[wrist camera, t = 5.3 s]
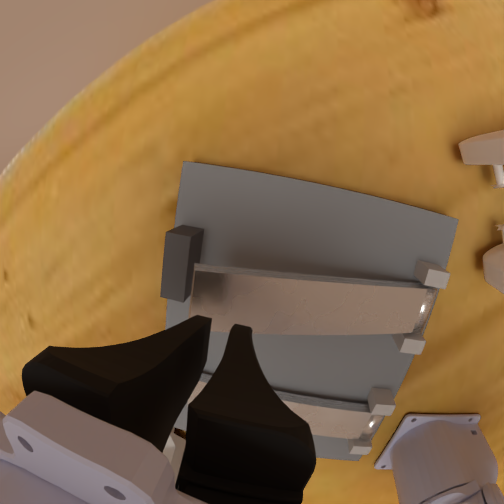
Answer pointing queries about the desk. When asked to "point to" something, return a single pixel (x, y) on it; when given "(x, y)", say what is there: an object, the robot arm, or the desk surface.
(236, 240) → the base plate
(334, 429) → the strip
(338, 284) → the front strap
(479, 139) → the cable organizer
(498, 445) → the desk surface
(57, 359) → the robot arm
